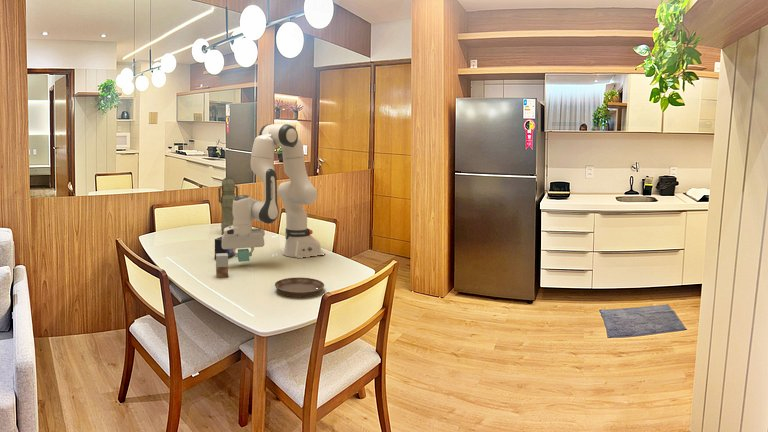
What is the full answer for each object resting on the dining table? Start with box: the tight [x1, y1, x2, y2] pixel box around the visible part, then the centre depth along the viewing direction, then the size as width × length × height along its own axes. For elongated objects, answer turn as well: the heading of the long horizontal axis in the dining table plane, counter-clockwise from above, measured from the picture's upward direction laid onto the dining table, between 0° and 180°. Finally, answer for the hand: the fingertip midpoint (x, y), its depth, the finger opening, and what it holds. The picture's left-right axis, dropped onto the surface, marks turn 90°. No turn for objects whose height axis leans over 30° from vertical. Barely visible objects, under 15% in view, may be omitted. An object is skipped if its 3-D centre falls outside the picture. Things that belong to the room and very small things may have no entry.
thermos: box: [217, 177, 239, 236], centre depth 319 cm, size 9×12×35 cm
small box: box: [214, 236, 235, 260], centre depth 266 cm, size 11×6×10 cm, turn 168°
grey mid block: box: [215, 253, 229, 268], centre depth 233 cm, size 5×5×5 cm
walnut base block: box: [215, 266, 229, 279], centre depth 234 cm, size 5×5×5 cm
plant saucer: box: [274, 277, 325, 298], centre depth 218 cm, size 21×21×3 cm
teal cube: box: [237, 248, 250, 263], centre depth 252 cm, size 5×5×5 cm
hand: (243, 256), depth 253 cm, fingers closed on teal cube, 5 cm apart
